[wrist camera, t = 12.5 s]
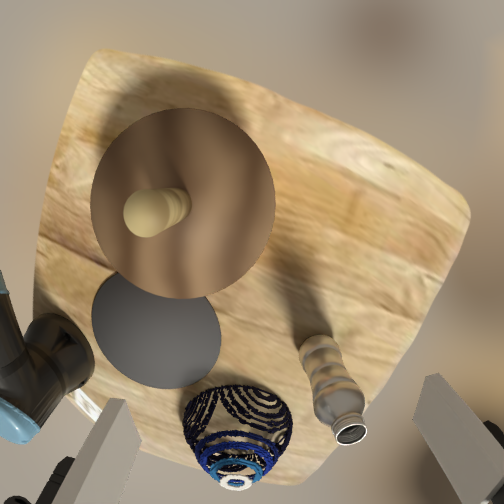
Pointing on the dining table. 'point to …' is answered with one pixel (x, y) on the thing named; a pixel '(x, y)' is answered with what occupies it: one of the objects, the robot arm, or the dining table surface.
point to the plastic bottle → (333, 389)
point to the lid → (182, 203)
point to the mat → (155, 334)
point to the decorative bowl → (223, 460)
